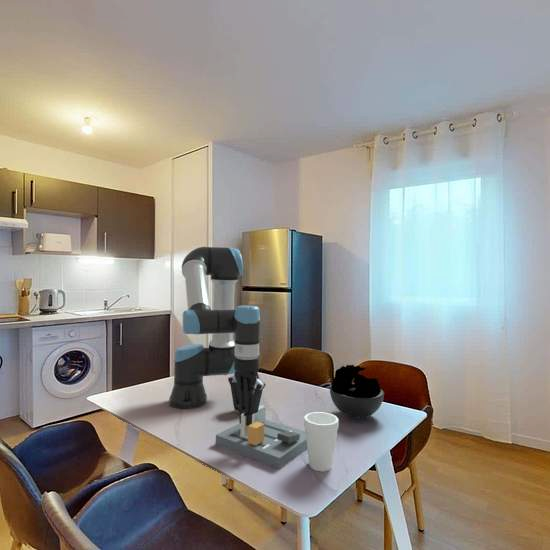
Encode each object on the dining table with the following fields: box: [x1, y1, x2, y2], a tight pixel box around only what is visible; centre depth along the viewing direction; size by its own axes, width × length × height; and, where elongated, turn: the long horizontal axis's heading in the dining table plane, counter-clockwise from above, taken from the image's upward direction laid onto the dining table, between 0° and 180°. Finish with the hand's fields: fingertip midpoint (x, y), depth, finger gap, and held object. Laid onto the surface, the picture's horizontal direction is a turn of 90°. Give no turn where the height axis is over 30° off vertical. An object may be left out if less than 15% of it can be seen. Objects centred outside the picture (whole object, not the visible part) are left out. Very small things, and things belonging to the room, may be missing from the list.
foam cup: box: [303, 411, 340, 472], centre depth 99 cm, size 10×9×13 cm
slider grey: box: [254, 404, 267, 423], centre depth 120 cm, size 3×4×5 cm
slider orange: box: [248, 422, 264, 446], centre depth 105 cm, size 3×4×5 cm
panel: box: [215, 419, 307, 470], centre depth 111 cm, size 24×19×4 cm
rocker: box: [277, 431, 300, 443], centre depth 106 cm, size 4×6×2 cm, turn 145°
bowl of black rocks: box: [329, 364, 385, 419], centre depth 135 cm, size 20×20×19 cm
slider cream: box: [238, 414, 255, 429], centre depth 115 cm, size 3×4×5 cm
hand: (245, 435), depth 108 cm, fingers closed
